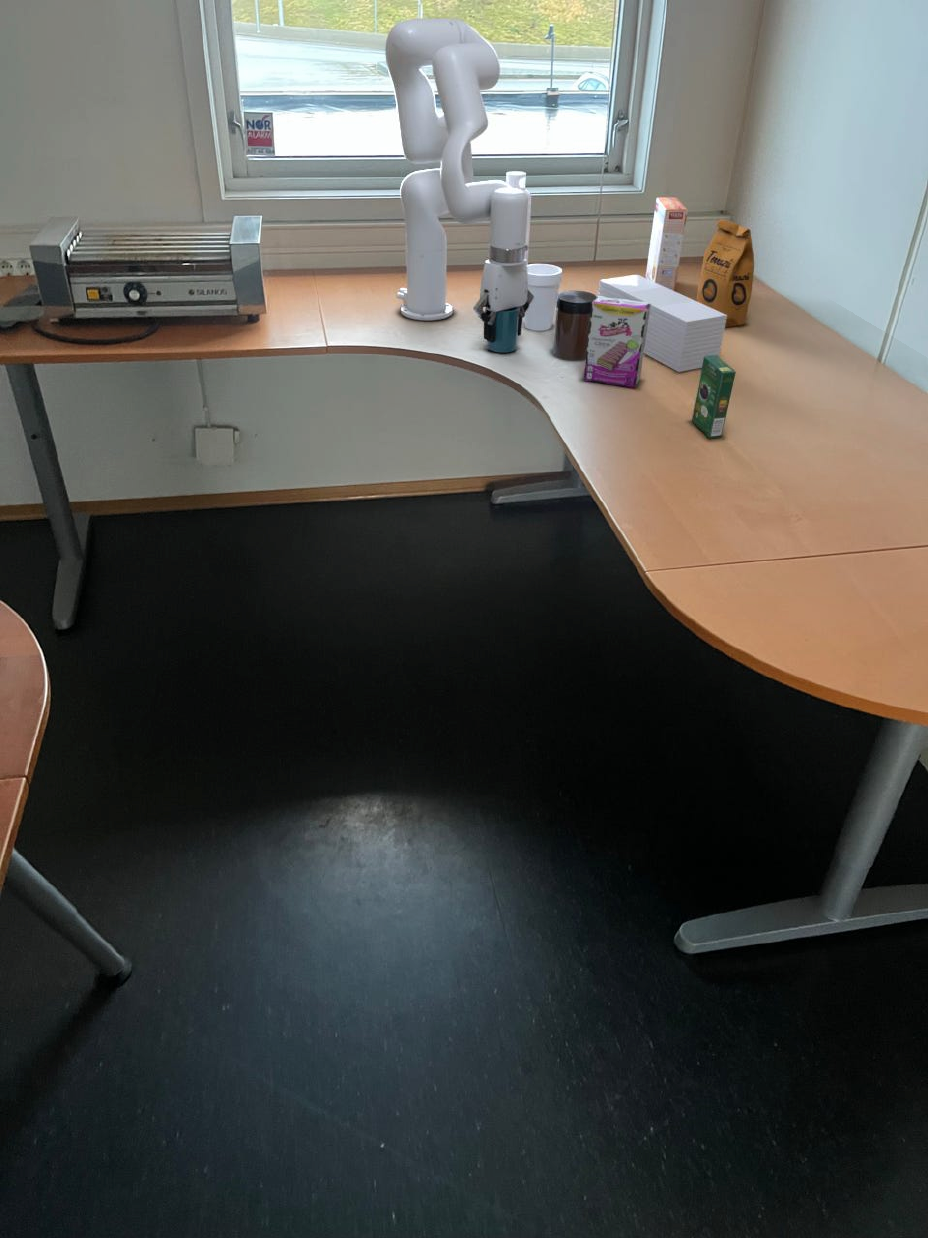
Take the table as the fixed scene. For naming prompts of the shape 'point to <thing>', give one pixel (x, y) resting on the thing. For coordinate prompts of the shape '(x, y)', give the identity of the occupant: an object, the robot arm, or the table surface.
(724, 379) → the coffee box
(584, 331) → the jar
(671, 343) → the stack of papers
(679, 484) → the table surface
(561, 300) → the jar lid
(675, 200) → the cracker box
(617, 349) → the candy bar box
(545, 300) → the foam cup
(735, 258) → the coffee package
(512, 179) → the bottle
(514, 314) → the cup
